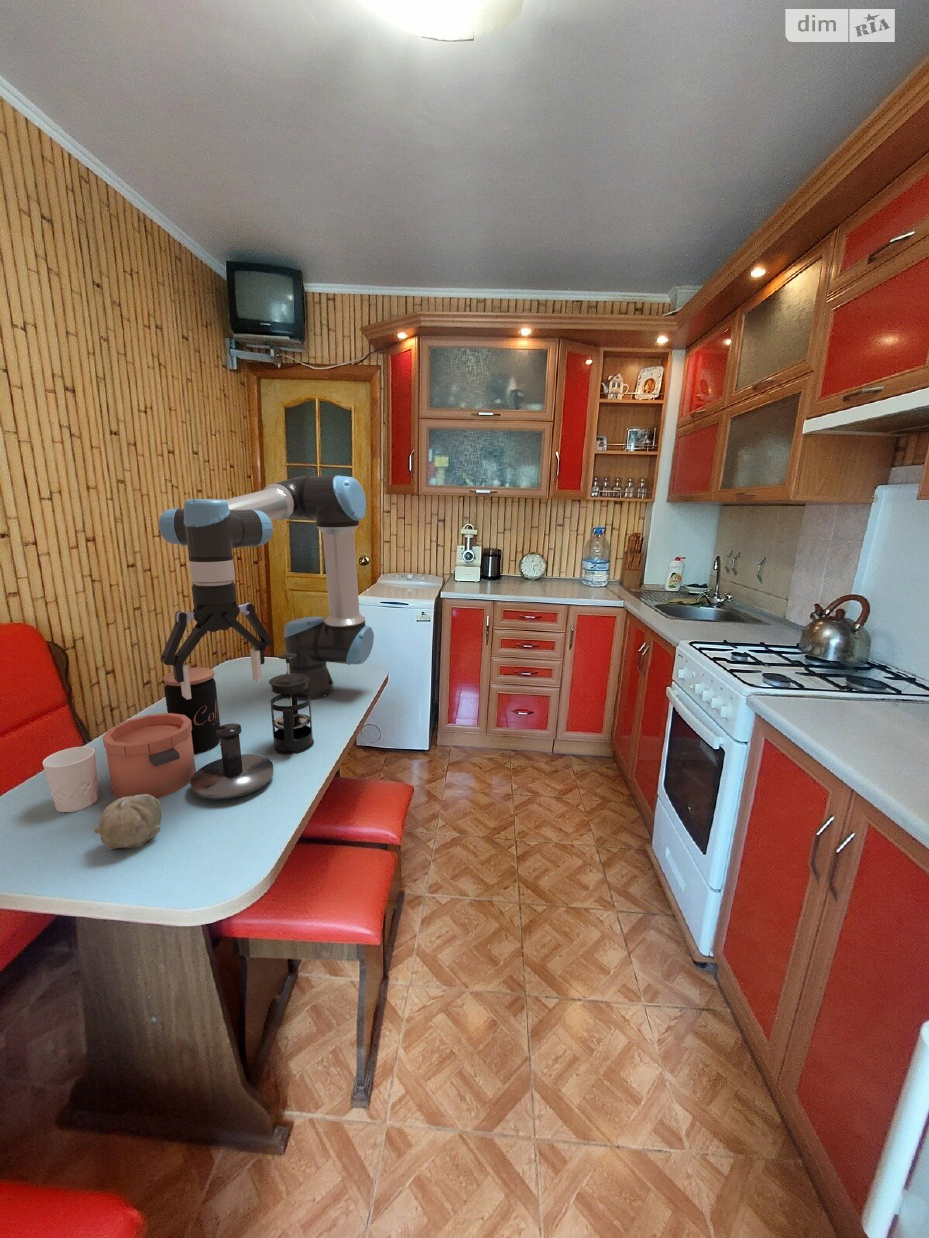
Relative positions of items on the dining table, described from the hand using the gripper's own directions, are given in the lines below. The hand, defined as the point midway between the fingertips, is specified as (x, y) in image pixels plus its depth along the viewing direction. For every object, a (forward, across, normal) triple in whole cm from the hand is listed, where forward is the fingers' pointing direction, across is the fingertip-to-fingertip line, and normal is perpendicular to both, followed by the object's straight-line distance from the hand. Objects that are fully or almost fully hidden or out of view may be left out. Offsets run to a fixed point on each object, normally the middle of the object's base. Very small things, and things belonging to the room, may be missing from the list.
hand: (223, 688), depth 99 cm
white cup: (+22, +24, -15) cm, 36 cm away
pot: (+21, +11, -13) cm, 27 cm away
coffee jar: (+22, -1, -24) cm, 32 cm away
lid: (+22, 0, 0) cm, 22 cm away
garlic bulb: (+22, +20, +6) cm, 30 cm away
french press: (+22, -17, -7) cm, 28 cm away
